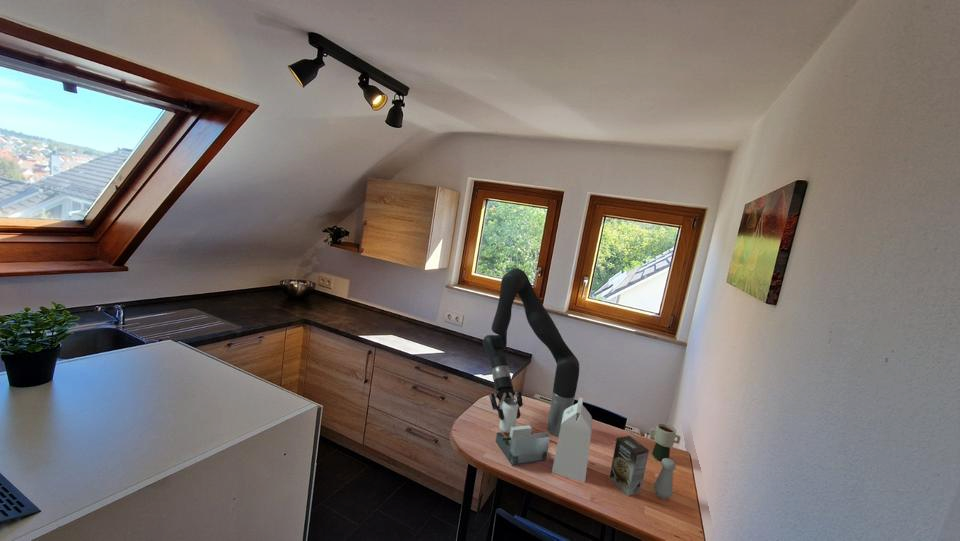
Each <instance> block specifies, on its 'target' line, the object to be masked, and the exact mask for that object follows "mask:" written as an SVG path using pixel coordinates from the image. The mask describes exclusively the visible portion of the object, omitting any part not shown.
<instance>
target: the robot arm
mask: <svg viewBox="0 0 960 541" xmlns="http://www.w3.org/2000/svg"><path fill="white" fill-rule="evenodd" d="M517 295H518V297H519V298H520V300H521V302H522V304H523V309H524V313H525V317H526V320H527V323H528V325H529V326H530V328H531V330H532V332H534V334H535V336H536V337H537V338H538V339H539V340H540V341H541V343H543V344H544V345H545V347H547V349H548V351H550V353H551V355H552V357H553V359H554V360H555V363H556V367H555V373H554V374H555V375H554V380H553V381H554V382H553V388H552V393H551V400H550V401H551V402H550V407H549V408H550V409H549V413H548V421H547V426H546V430H547V431H548V432H549V433H550V434H551V435H553V436H556V437H559V433H560V427H561V422H562V417H563V413H564V410H565V409H567V408H569V407H571V406H573V405H575V404H574V403H575V398H576V392H577V388H578V383H579V377H580V362H579V360H578V358H577V357H576V355H575V354H574V352H572V350H571V349H570V348H569V346H568V345H567V343H566V342H565V341H564V339H563V337H562V335H561V333H560V331H559V329H558V328H557V326H556V324H555V322H554V320H553V319H552V317H551V316H550V314H549V312H548V311H547V309H546V308H545V306H544V305H543V303H542V301H541V300H540V298H539V297H538V295H537V293H536V292H535V289H534V288H533V285H532V283H531V280H530V279H529V277H528V276H527V273H525V271H524V270H523V269H520V268H513V269H511V270H509V271H508V272H506V273H505V274H504V275H503V276H502V278H501V283H500V290H499V298H498V303H497V308H496V311H495V315H494V318H493V321H492V324H491V331H492V332H493V333H494V334H488V335H486V336H484V338H483V340H482V345H483V349H484V351H485V353H486V355H487V357H488V359H489V362H490V365H491V370H492V371H491V372H492V379H493V380H492V381H493V386H494V390H495V393H493V392H492V393H491V394H490V395H489V400H490V403H491V404H490V405H491V407H492V410H494V411H497V415H498V418H499V420H500V419H501V420H504V414H503V410H502V404H503V402H504V400H505V399H507V398H511V399H514V400H516V401H517V402H518V412H517V419H520V418H521V416H522V415H521V411H520V408H521V407H522V406H523V405H524V403H523V397H522V396H523V395H522V392H521V391H515V390H514V385H513V381H512V377H511V372H510V370H509V369H510V368H509V365H508V361H507V357H506V355H505V354H503V353H500V352H501V351H504V350H505V349H506V348H507V343H508V342H507V340H508V339H507V337H508V329H509V327H510V324H511V323H510V322H511V319H512V310H513V309H512V308H513V304H514V301H515V299H516V297H517ZM496 399H497V400H498V402H497V400H496ZM517 419H516V420H517Z"/></svg>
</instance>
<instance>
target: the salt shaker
mask: <svg viewBox="0 0 960 541" xmlns="http://www.w3.org/2000/svg"><path fill="white" fill-rule="evenodd" d="M660 464H661V466H662V467H661V469H660V472H659V473H658V476H657V478H656V479H655V482H654V483H653V489H654V493H655V495H656V496H657V497H658V498H659V499H662V500H668V499H670V497H671V496H672V495H673V493H674V492H673V489H674V488H673V485H674V484H673V479H674V472H673V471H675V470H676V462H675V461H674V460H673V459H670V458H669V459H668V458H664V459H662V461H661V463H660Z"/></svg>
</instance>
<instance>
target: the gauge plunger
mask: <svg viewBox="0 0 960 541" xmlns="http://www.w3.org/2000/svg"><path fill="white" fill-rule="evenodd" d="M532 429H533V427H531V426H530V424H528V425H520V426H515V427H511V430H510V433H509V436H506V437H504V438H502V441H507V440H509V443H510V445H511V441H512V436H518V435H526V434H531V433H532V431H533V430H532Z"/></svg>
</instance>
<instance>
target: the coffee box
mask: <svg viewBox="0 0 960 541" xmlns="http://www.w3.org/2000/svg"><path fill="white" fill-rule="evenodd" d="M615 441H616V442H615V446H614V452H613V457H612V463H611V467H610V472H609V478H608V480H610V482H612V483H613V484H614V485H615V486H616V487H618V488H619V489H620V490H621V491H622V492H623V493H624V494H625V495H626V496H627V497H629V496H633V495H637V494H640V493H641V492H642V487H643V481H644V477H645V473H646V466H647V463H648V458H649V454H650V450H649V449H648V448H647V447H645V446H644V445H643V444H642V443H640V442H639V441H637V440H636V439H635V438H633V437H632V436H630V435H626V436H625V435H624V436H620V437H617V438H616V440H615Z"/></svg>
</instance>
